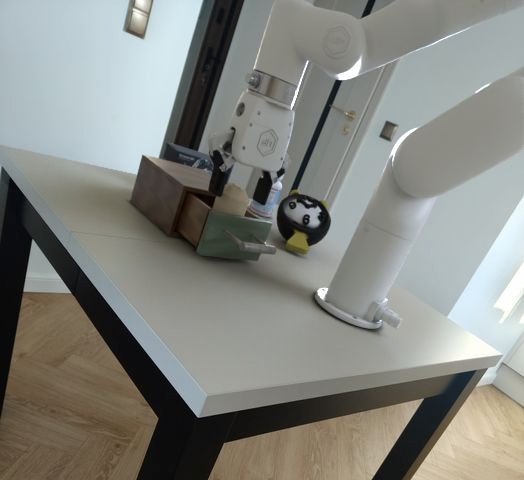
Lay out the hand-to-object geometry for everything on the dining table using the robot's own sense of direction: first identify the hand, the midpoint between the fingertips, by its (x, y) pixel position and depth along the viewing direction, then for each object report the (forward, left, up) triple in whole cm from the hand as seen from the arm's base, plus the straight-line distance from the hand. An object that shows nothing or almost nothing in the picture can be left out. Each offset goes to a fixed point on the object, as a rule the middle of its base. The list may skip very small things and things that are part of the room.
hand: (237, 198), depth 86 cm
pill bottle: (+17, -42, -10) cm, 47 cm away
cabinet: (+12, -4, -10) cm, 16 cm away
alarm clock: (0, -30, -10) cm, 32 cm away
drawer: (0, 0, -9) cm, 9 cm away
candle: (+1, 0, -8) cm, 8 cm away
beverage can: (+26, -33, -10) cm, 43 cm away
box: (+24, -18, -10) cm, 32 cm away
